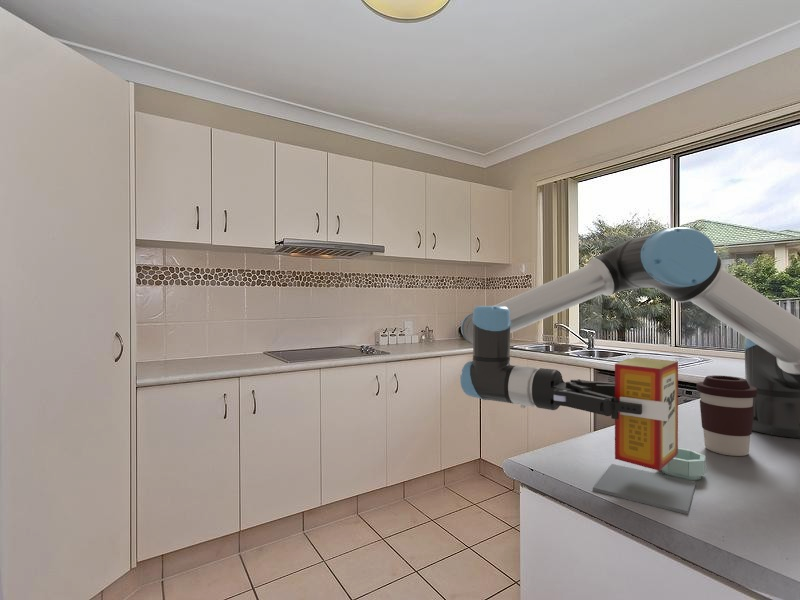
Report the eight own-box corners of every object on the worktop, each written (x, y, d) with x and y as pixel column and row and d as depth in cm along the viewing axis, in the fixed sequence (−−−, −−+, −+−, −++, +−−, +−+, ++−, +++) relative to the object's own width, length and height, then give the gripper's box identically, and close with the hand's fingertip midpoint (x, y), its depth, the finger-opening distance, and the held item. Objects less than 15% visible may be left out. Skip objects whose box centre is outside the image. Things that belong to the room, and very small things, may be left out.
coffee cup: (699, 439, 96) (699, 372, 96) (757, 449, 90) (756, 377, 90) (694, 452, 88) (694, 378, 88) (757, 463, 82) (757, 384, 82)
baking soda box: (635, 444, 77) (635, 355, 77) (677, 454, 72) (678, 359, 72) (614, 458, 71) (614, 361, 70) (659, 470, 66) (659, 366, 66)
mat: (695, 484, 73) (695, 481, 73) (688, 514, 63) (687, 511, 63) (611, 466, 81) (611, 463, 81) (592, 490, 71) (592, 487, 71)
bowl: (706, 472, 78) (706, 452, 78) (703, 485, 72) (703, 464, 72) (661, 463, 82) (660, 444, 82) (654, 474, 77) (654, 455, 77)
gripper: (557, 396, 92) (680, 413, 78) (512, 419, 74) (662, 447, 60) (557, 361, 92) (680, 372, 78) (512, 376, 74) (662, 393, 60)
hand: (672, 404), depth 69 cm, fingers closed on baking soda box, 10 cm apart
